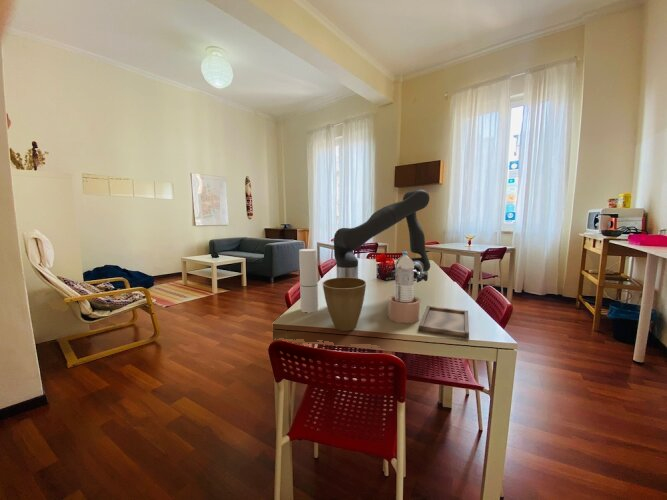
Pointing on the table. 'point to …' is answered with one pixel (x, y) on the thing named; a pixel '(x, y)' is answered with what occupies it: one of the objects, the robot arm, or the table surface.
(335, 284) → the plant pot
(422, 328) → the tray
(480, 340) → the table surface
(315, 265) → the cylindrical container
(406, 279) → the water bottle
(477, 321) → the table surface
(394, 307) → the holder cup
